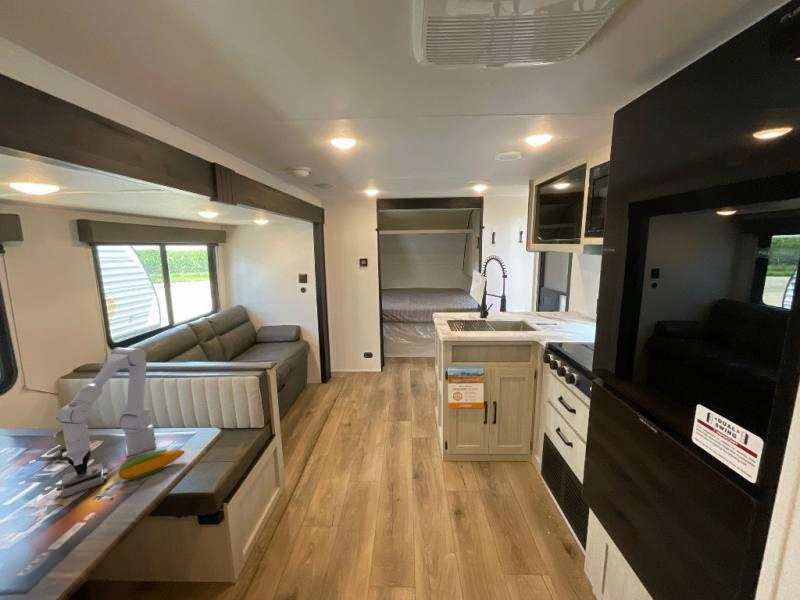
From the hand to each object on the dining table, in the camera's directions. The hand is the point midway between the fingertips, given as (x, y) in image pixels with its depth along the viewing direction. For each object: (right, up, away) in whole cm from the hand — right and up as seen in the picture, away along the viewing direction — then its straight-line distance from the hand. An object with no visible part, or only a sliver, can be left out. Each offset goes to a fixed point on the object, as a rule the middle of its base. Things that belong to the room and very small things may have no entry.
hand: (82, 473), depth 113 cm
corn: (+19, -4, +9) cm, 21 cm away
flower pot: (-26, -1, +22) cm, 34 cm away
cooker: (0, -5, 0) cm, 5 cm away
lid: (0, -1, 0) cm, 1 cm away
